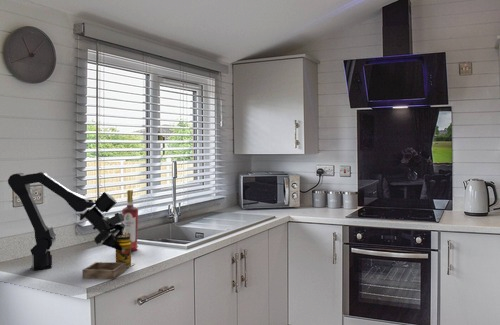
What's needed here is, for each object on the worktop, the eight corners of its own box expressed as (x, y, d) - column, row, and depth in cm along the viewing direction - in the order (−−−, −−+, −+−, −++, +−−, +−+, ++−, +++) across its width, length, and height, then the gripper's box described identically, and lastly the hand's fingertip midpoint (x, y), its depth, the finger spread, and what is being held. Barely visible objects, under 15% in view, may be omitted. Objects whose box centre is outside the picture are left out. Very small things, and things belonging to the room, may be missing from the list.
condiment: (125, 268, 177) (125, 238, 177) (107, 266, 180) (107, 236, 180) (135, 264, 184) (135, 235, 184) (118, 262, 187) (118, 233, 187)
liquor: (120, 251, 205) (119, 191, 204) (124, 248, 213) (124, 189, 212) (136, 251, 205) (135, 190, 204) (140, 248, 213) (139, 189, 212)
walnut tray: (82, 277, 165) (82, 269, 165) (96, 269, 176) (95, 262, 176) (114, 278, 164) (114, 270, 164) (125, 270, 175) (125, 262, 175)
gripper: (101, 210, 172) (129, 239, 171) (120, 203, 191) (146, 230, 190) (82, 230, 173) (110, 259, 172) (103, 222, 192) (128, 248, 191)
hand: (124, 248), depth 181 cm, fingers closed on condiment, 6 cm apart
